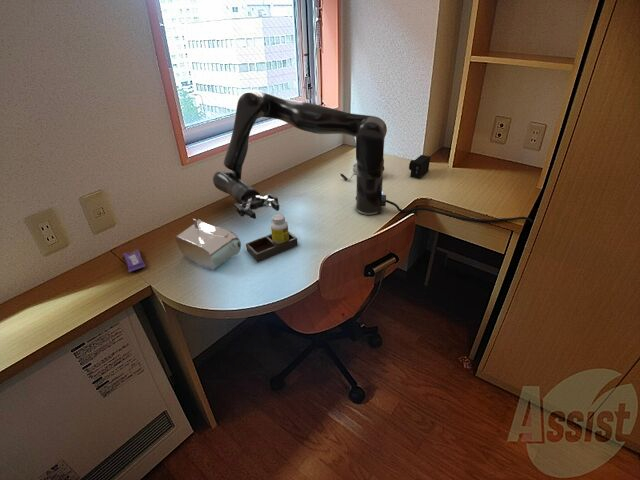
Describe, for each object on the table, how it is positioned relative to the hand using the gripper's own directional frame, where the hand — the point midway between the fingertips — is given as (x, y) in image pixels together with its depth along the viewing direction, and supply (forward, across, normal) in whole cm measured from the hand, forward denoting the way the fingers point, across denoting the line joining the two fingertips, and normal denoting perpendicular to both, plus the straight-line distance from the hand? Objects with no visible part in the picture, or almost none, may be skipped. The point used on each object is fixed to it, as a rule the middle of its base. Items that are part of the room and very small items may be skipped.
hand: (266, 212), depth 117 cm
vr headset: (0, -20, +9) cm, 22 cm away
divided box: (+8, -3, +9) cm, 12 cm away
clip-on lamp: (-16, +55, +9) cm, 58 cm away
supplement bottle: (+8, 0, +8) cm, 11 cm away
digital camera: (-2, +76, +9) cm, 77 cm away
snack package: (-13, -41, +9) cm, 44 cm away
